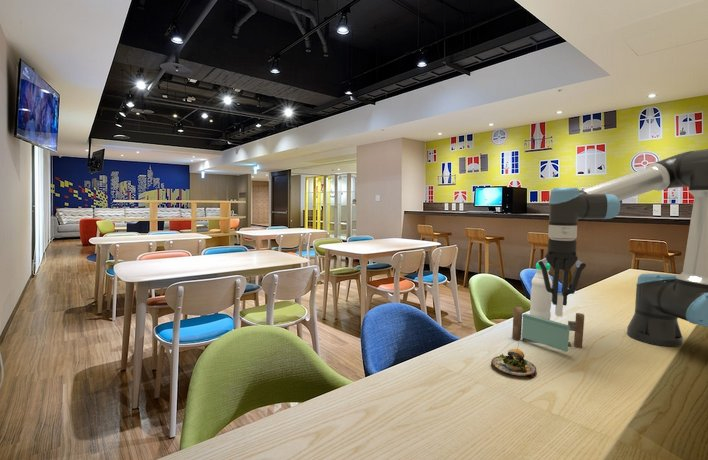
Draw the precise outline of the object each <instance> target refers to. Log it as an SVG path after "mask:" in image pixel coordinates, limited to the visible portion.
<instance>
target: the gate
mask: <svg viewBox="0 0 708 460" xmlns="http://www.w3.org/2000/svg"><path fill="white" fill-rule="evenodd" d="M569 329H570V325H568V324H566V323H561V322H558V321H555V320H551V319H550V320H548V319H544V318H540V317H537V316H533V315H530V313H529V314H528V313H526V312H525V313H522V330H521V338H522V337H523V338H526V339H529V340H532V341H535V342H534V343H536V342H538V344H541V345H545V346H548V347H550V348H553V349H557V350H559V351H563V352H568V351H569V347H568V342H570V341H569V339H570V331H569Z"/></svg>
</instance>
